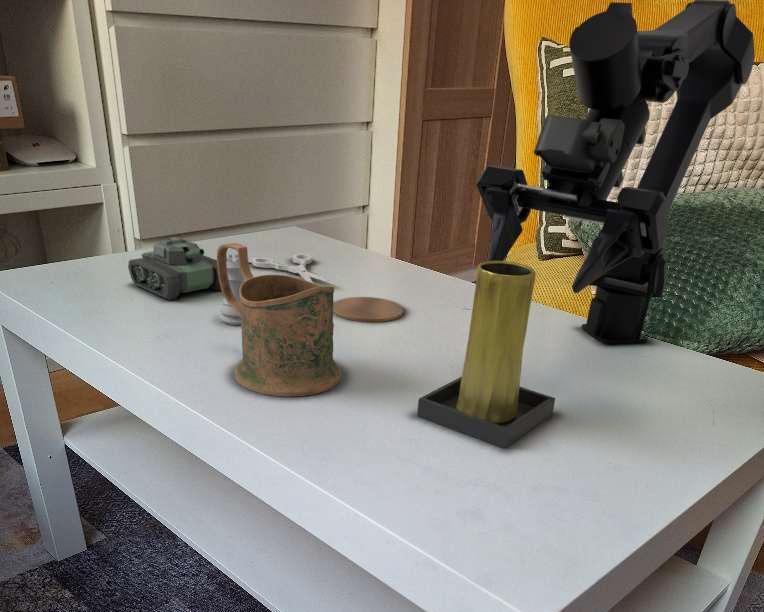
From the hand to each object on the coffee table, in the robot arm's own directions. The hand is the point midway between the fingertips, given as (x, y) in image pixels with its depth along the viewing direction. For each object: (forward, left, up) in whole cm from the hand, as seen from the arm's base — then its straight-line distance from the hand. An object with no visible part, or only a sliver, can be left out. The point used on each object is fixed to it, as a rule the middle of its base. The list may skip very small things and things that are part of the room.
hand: (530, 279), depth 71 cm
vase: (+4, +3, -12) cm, 14 cm away
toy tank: (+31, -44, -13) cm, 55 cm away
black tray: (+4, +3, -13) cm, 14 cm away
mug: (+23, -13, -13) cm, 30 cm away
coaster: (+7, -31, -13) cm, 34 cm away
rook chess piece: (+25, -29, -13) cm, 41 cm away
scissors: (+13, -49, -13) cm, 52 cm away
